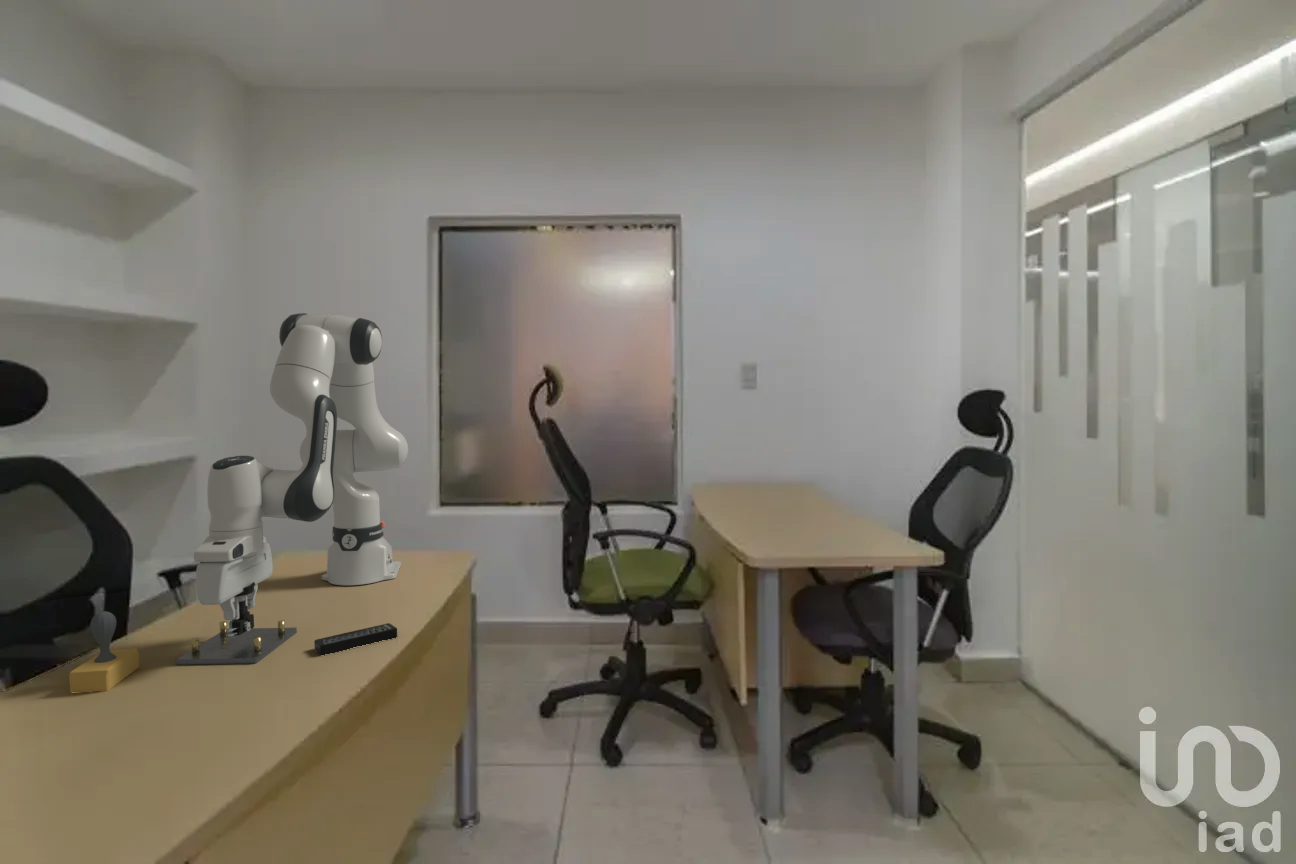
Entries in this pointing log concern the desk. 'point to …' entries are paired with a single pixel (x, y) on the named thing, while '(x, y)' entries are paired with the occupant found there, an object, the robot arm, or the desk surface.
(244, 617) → the push button
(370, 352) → the robot arm
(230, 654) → the chassis
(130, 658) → the rubber stamp
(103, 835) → the desk surface
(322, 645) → the multiport hub
